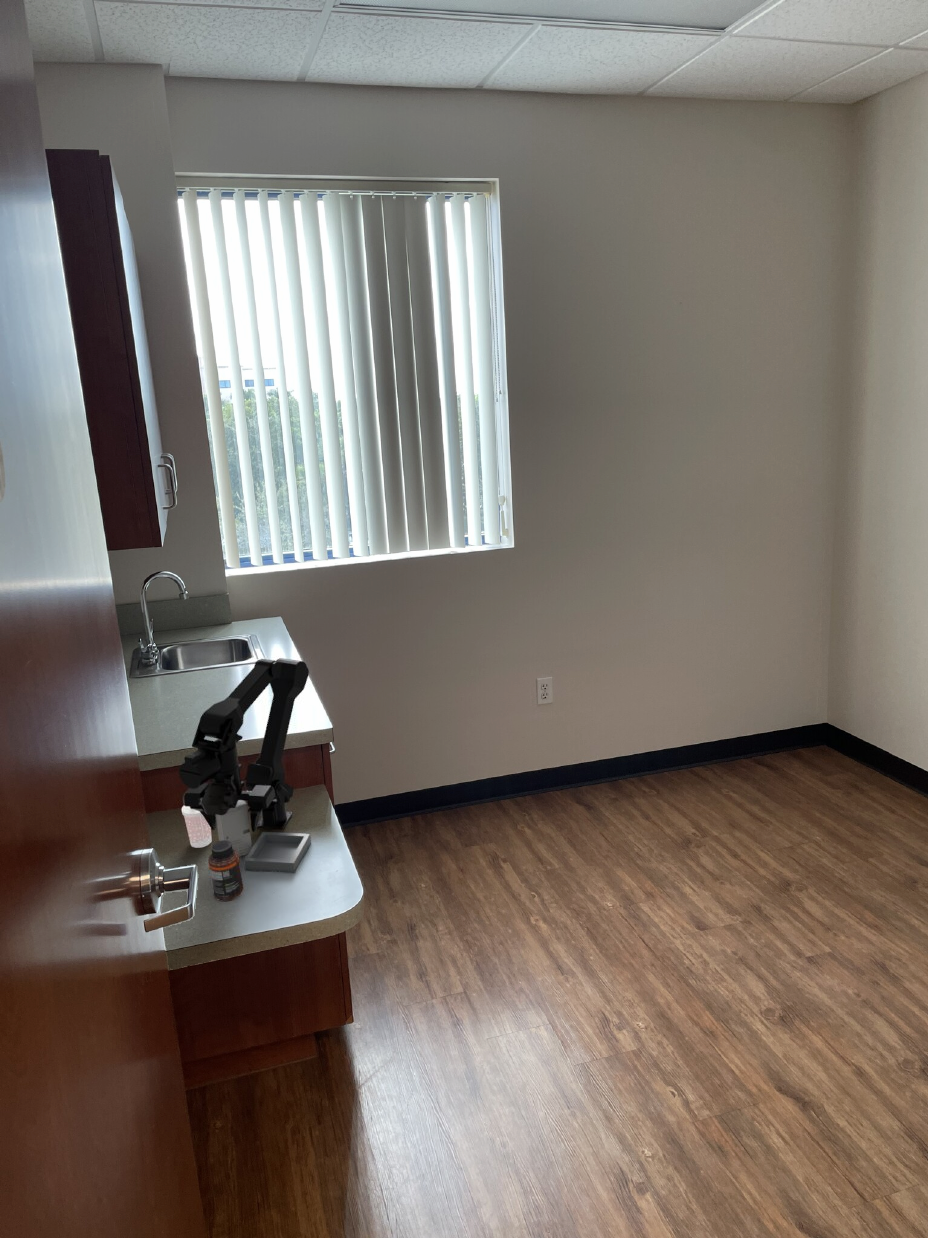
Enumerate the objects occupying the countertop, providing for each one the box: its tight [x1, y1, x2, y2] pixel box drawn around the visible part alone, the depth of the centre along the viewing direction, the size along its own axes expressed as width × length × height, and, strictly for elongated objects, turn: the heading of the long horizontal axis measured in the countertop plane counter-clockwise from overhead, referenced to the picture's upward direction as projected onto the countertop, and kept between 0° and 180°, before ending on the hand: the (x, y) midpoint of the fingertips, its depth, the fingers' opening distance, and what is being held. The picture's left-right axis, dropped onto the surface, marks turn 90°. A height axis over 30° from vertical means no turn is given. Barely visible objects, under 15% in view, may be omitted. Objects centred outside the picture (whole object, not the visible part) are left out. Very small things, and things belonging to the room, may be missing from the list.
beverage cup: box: [181, 805, 213, 849], centre depth 189 cm, size 6×6×14 cm
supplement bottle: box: [207, 840, 244, 902], centre depth 171 cm, size 6×6×11 cm
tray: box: [243, 831, 312, 874], centre depth 184 cm, size 11×11×2 cm
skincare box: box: [215, 800, 253, 858], centre depth 185 cm, size 6×4×12 cm
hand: (233, 830), depth 185 cm, fingers open, 9 cm apart
